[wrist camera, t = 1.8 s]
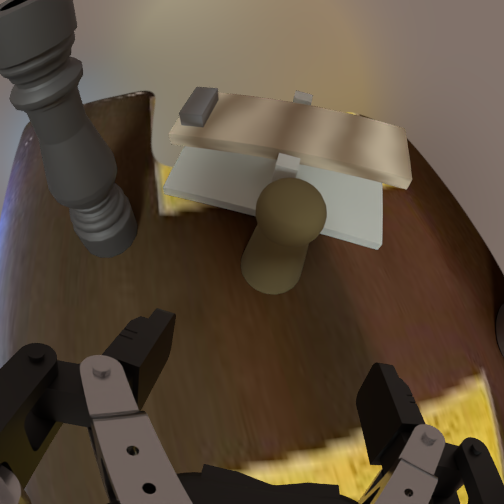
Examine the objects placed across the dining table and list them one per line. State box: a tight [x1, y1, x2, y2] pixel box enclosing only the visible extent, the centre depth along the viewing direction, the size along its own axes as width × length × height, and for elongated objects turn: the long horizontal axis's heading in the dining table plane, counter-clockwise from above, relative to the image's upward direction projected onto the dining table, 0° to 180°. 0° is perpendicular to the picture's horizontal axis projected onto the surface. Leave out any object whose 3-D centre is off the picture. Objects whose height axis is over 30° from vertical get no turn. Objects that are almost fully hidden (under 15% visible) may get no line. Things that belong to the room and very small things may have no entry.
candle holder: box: [0, 0, 138, 257], centre depth 20 cm, size 6×6×25 cm
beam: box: [169, 87, 412, 189], centre depth 31 cm, size 24×8×4 cm, turn 77°
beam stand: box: [163, 91, 383, 250], centre depth 34 cm, size 24×14×8 cm, turn 77°
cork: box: [241, 177, 327, 294], centre depth 27 cm, size 6×6×11 cm
